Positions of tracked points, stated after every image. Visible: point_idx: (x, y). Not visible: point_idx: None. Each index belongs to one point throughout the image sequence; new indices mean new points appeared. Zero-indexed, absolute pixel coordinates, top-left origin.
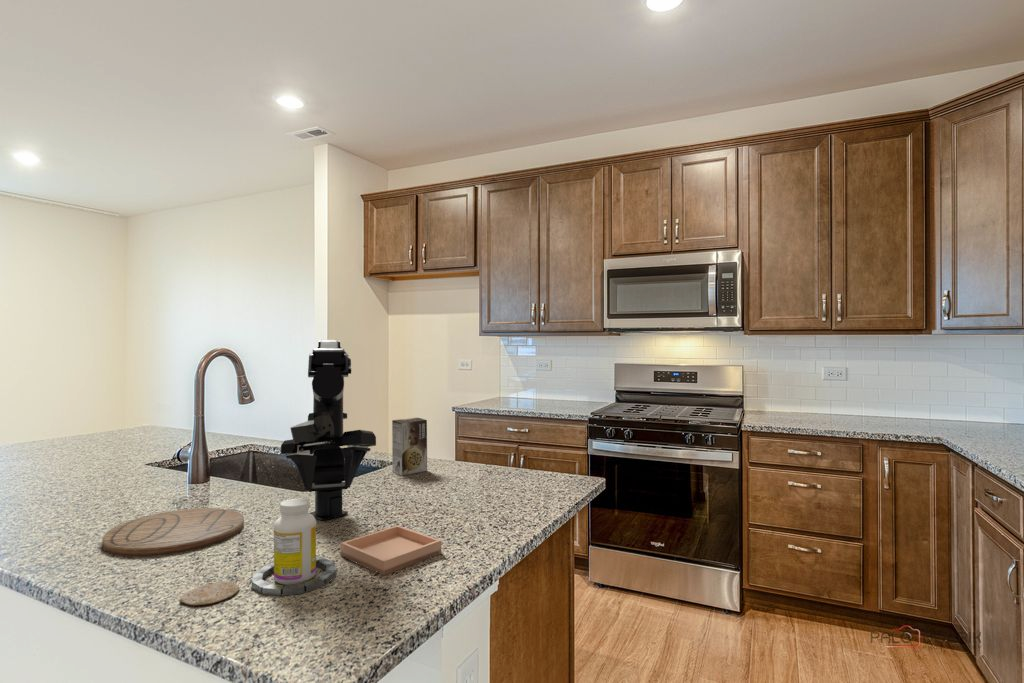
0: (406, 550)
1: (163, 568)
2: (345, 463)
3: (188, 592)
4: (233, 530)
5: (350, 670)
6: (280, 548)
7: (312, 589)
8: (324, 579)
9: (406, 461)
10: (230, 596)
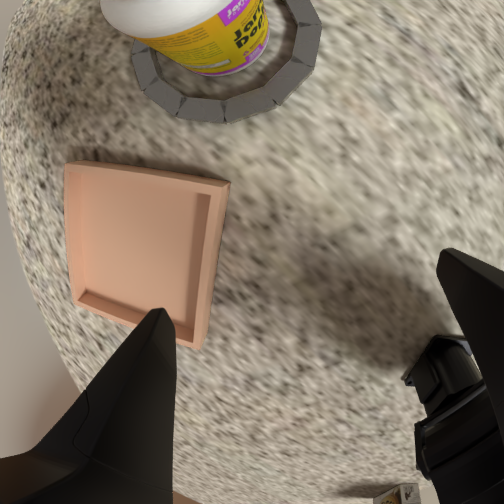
0: (114, 264)
1: (490, 5)
2: (96, 422)
3: None
4: None
5: (16, 14)
6: None
7: None
8: (134, 55)
9: (396, 502)
10: None
